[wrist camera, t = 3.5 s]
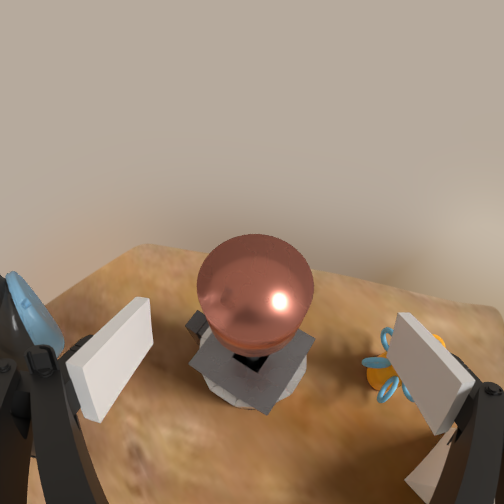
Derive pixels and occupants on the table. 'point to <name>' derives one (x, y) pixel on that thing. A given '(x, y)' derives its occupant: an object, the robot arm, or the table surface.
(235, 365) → the press carafe
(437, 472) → the milk
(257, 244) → the plunger
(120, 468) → the table surface
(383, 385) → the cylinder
